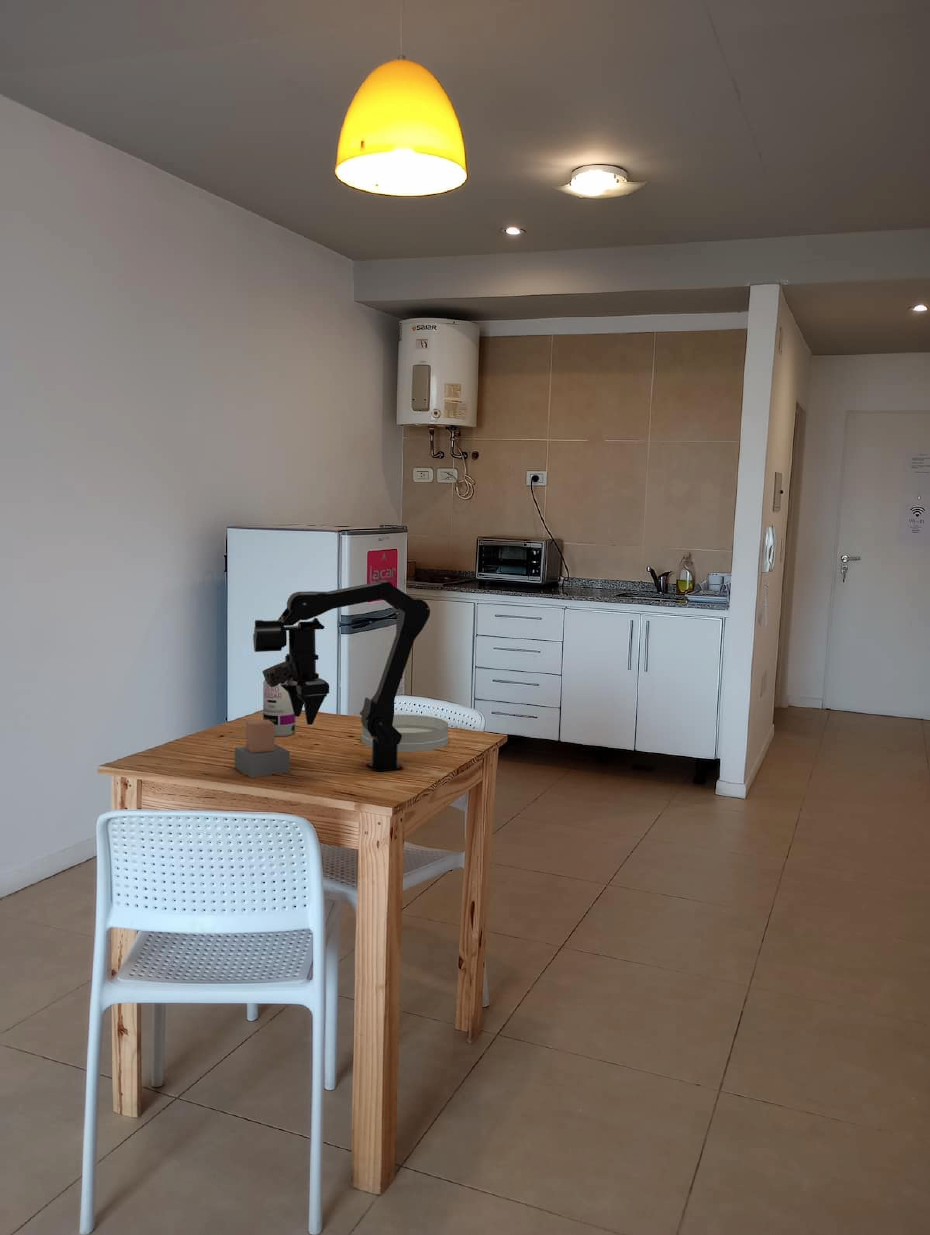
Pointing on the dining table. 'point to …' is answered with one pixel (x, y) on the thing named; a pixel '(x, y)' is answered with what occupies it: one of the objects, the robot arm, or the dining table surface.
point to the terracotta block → (260, 736)
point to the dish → (416, 733)
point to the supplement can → (278, 709)
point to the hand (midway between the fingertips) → (303, 720)
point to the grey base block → (262, 761)
